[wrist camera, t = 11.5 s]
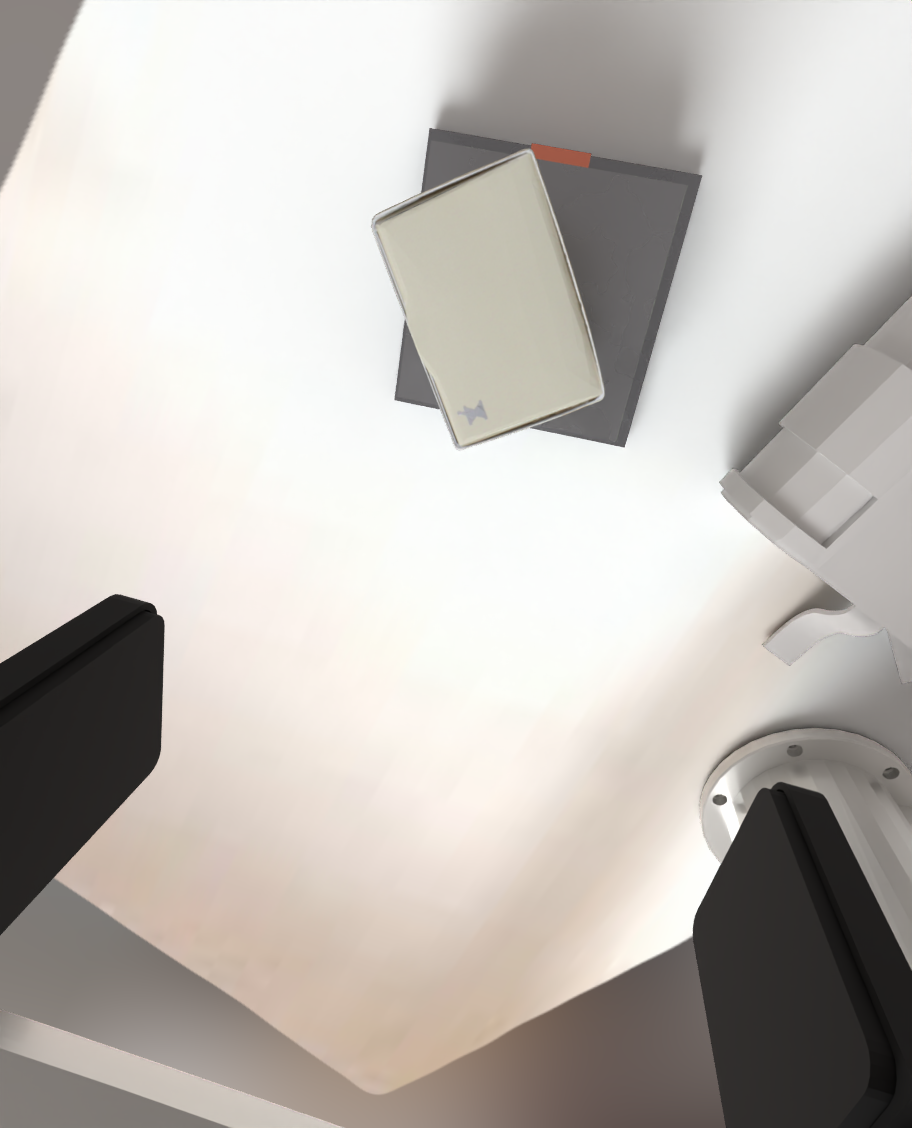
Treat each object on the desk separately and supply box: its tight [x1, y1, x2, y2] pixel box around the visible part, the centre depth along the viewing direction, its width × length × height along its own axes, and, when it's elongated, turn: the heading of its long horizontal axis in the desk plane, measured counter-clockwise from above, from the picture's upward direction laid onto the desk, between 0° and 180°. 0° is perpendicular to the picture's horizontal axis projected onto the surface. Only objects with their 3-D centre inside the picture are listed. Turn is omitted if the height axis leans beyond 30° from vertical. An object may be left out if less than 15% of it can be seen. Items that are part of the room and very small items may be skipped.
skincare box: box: [371, 148, 605, 450], centre depth 22 cm, size 6×4×12 cm
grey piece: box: [395, 128, 702, 447], centre depth 29 cm, size 12×12×5 cm
